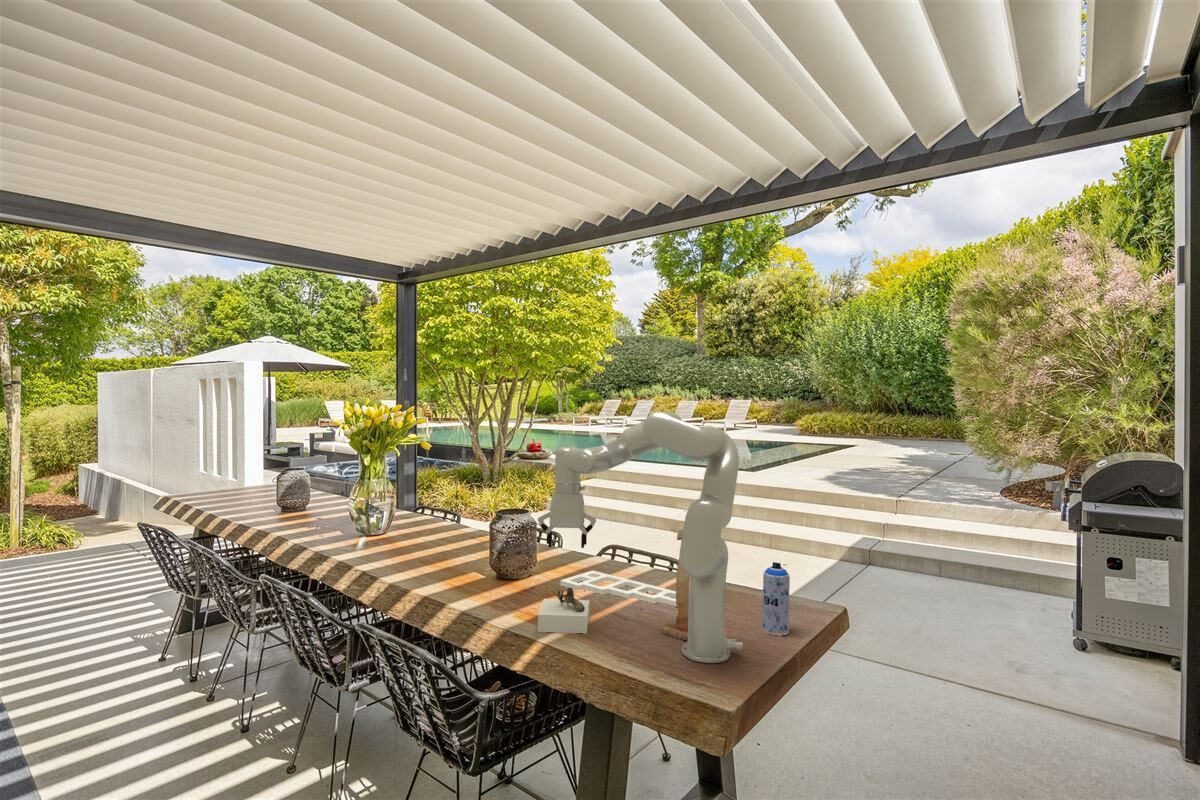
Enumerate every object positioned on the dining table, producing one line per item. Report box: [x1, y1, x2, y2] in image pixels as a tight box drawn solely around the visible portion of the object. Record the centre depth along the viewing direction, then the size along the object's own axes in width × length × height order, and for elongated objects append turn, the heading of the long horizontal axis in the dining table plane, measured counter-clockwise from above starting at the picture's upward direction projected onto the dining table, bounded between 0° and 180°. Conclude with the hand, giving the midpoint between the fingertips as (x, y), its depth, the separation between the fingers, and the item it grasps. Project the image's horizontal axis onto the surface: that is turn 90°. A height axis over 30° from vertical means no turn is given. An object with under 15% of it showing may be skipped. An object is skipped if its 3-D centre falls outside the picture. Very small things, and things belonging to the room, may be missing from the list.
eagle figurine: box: [551, 587, 585, 612], centre depth 178 cm, size 8×7×9 cm
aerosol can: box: [761, 561, 791, 634], centre depth 177 cm, size 8×8×20 cm
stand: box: [537, 598, 590, 635], centre depth 179 cm, size 14×14×5 cm
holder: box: [560, 570, 677, 606], centre depth 208 cm, size 45×18×3 cm, turn 51°
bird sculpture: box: [660, 529, 690, 642], centre depth 174 cm, size 11×12×32 cm
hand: (566, 546), depth 179 cm, fingers open, 9 cm apart
